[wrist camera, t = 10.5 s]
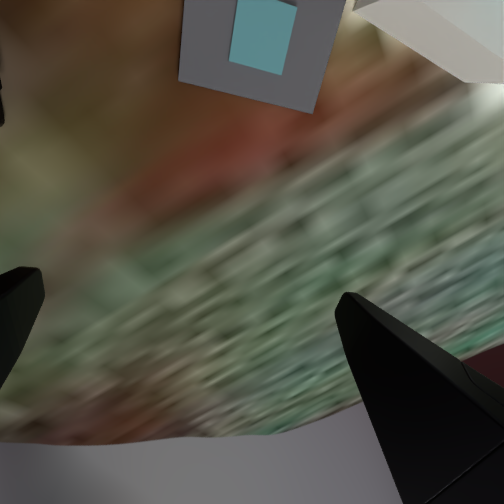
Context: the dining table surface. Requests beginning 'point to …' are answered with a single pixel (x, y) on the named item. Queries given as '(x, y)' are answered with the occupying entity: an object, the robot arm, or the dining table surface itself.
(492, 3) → the white block
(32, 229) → the dining table surface
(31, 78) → the dining table surface
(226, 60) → the card
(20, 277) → the robot arm
